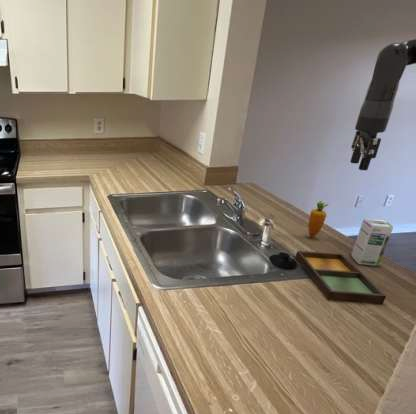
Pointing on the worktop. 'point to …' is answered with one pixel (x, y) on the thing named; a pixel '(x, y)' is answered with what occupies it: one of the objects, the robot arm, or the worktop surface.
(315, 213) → the carrot
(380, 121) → the robot arm
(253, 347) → the worktop surface
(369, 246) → the syrup box
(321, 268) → the sorting tray
